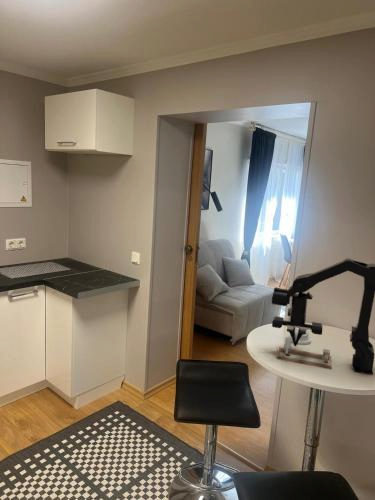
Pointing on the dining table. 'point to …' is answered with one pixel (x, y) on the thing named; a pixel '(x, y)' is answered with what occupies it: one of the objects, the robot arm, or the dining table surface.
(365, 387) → the dining table surface
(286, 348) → the block
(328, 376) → the dining table surface
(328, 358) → the board
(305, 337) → the mechanical component
